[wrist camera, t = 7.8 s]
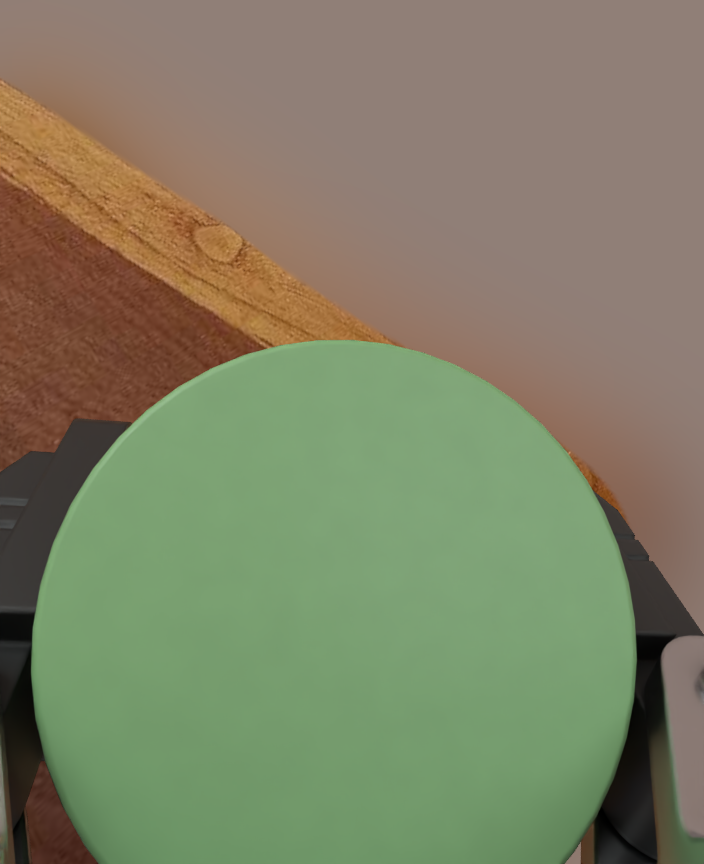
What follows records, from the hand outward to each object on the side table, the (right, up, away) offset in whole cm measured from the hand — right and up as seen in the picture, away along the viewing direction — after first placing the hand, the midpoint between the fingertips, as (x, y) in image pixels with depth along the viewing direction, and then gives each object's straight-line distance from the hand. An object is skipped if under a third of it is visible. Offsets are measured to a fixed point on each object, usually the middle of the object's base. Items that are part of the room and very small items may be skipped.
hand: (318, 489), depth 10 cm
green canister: (-1, -3, +5) cm, 6 cm away
